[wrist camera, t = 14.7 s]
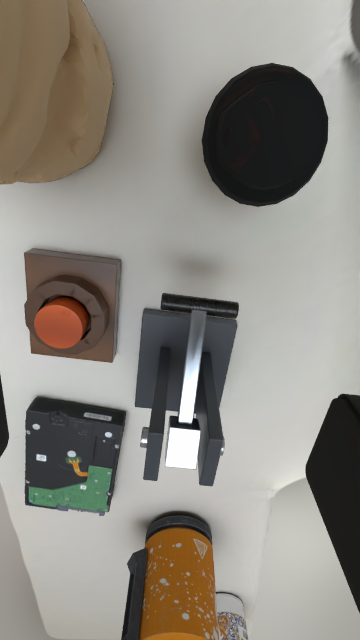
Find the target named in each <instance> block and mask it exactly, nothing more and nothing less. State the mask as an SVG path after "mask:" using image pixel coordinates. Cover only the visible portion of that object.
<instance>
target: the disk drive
mask: <svg viewBox="0 0 360 640" xmlns="http://www.w3.org/2000/svg"><path fill="white" fill-rule="evenodd" d="M125 416H126V413H125V412H119V411H115V410H111V409H105V408H99V407H93V406H88V405H81V404H76V403H69V402H64V401H58V400H51V399H42V398H35V399H34V400H33V402H32V403H31V405H30V406H29V408H28V409H27V411H26V420H25V422H26V424H25V429H26V463H25V465H26V467H25V469H26V470H25V505H29V506H36V507H42V508H50V509H57V510H60V511H68V509H71V510H76V511H78V512H79V510H80V511H81V512H91V513H99V516H104V514H105V512H109V509H110V504H111V499H112V494H113V490H114V482H115V476H116V470H117V464H118V458H119V452H120V446H121V440H122V436H123V431H124V425H125V418H126V417H125Z"/></svg>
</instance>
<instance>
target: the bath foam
mask: <svg viewBox="0 0 360 640" xmlns="http://www.w3.org/2000/svg"><path fill="white" fill-rule="evenodd" d="M216 603H217V616H218V630H219V640H248V636H247V628H246V622H245V615H244V608H243V604H242V602H241V601H240V599H238V598H237V597H235V596H233V595H230V594H225V593H219V594H216Z"/></svg>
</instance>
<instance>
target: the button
mask: <svg viewBox="0 0 360 640" xmlns="http://www.w3.org/2000/svg"><path fill="white" fill-rule="evenodd" d="M88 324H89V317H88V314H87V311H86V310H85V308H84V307H83V306H82V305H81V304H80V303H79V302H78V301H76V300H74V299H72V298H68V297H57V298H54V299H52V300H50V301H49V302H48V303H47V304H46V305H45V306H44V307H43V308H42V309H41V310H40V311H39V312H38V313H37V314H36V317H35V320H34V326H35V330H36V333H37V334H38V336H39V337H40V339H41V340H42V341H44V342H45V343H46V344H48V345H50V346H52V347H55V348H69V347H72V346H74V345H75V344H77V343H78V342H79V341H80V339H81V338H82V336H83V334H84V333H85V331H86V330H87V328H88Z"/></svg>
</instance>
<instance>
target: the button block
mask: <svg viewBox="0 0 360 640" xmlns="http://www.w3.org/2000/svg"><path fill="white" fill-rule="evenodd" d="M24 258H25V272H26V286H27V301H26V303H25V306H24V307H25V320H26V326H27V327H28V329H29V330H30V344H31V353H32V354H41V355H50V356H58V357H67V358H76V359H84V360H93V361H102V362H110V363H112V362H113V360H114V357H115V355H116V341H117V322H118V304H119V285H120V266H121V260H117V259H109V258H101V257H94V256H86V255H78V254H70V253H62V252H55V251H47V250H39V249H31V250H29V251H27V252H25V253H24ZM57 297H68V298H72V299H74V300H76V301H78V302H79V303H80V304H81V305H82V306H83V307H84V308H85V310H86V311H87V314H88V317H89V324H88V328H87V330H86V331H85V333H84V334H83V336H82V338H81V339H80V341H79V342H78V343H77V344H75V345H74V346H72V347H69V348H55V347H52V346H50V345H48V344H46V343H45V342H44V341H42V340H41V339H40V337H39V336H38V334H37V333H36V330H35V326H34V320H35V317H36V314H37V313H38V312H39V311H40V310H41V309H42V308H43V307H44V306H45V305H46V304H47V303H48V302H49V301H50V300H52V299H54V298H57Z"/></svg>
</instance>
